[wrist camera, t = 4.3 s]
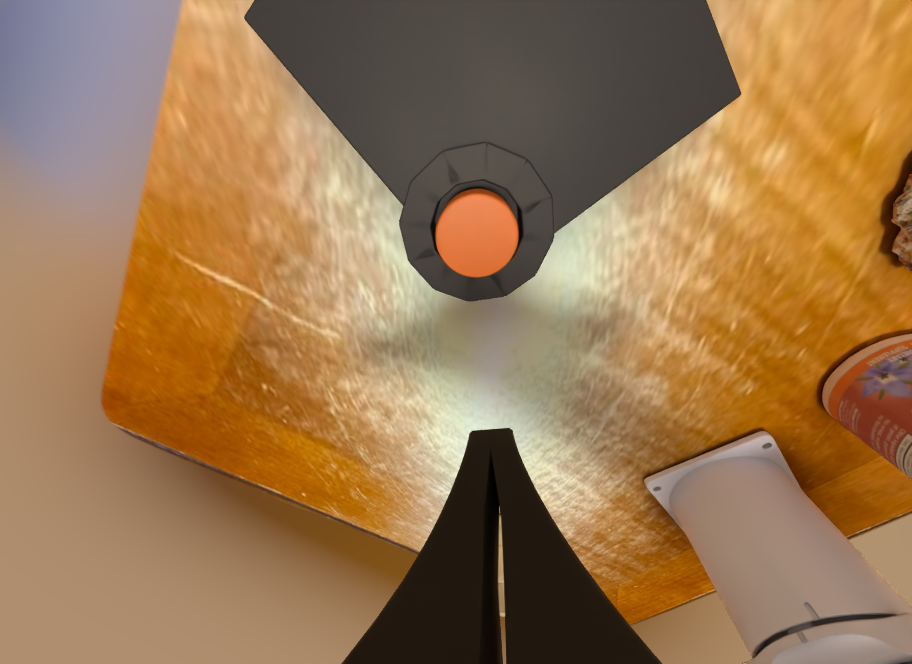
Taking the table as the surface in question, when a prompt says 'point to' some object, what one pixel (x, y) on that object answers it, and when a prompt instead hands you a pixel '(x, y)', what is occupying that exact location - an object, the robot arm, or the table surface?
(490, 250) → the button
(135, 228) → the table surface
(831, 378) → the pill bottle
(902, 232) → the mineral rock
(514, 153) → the scale
